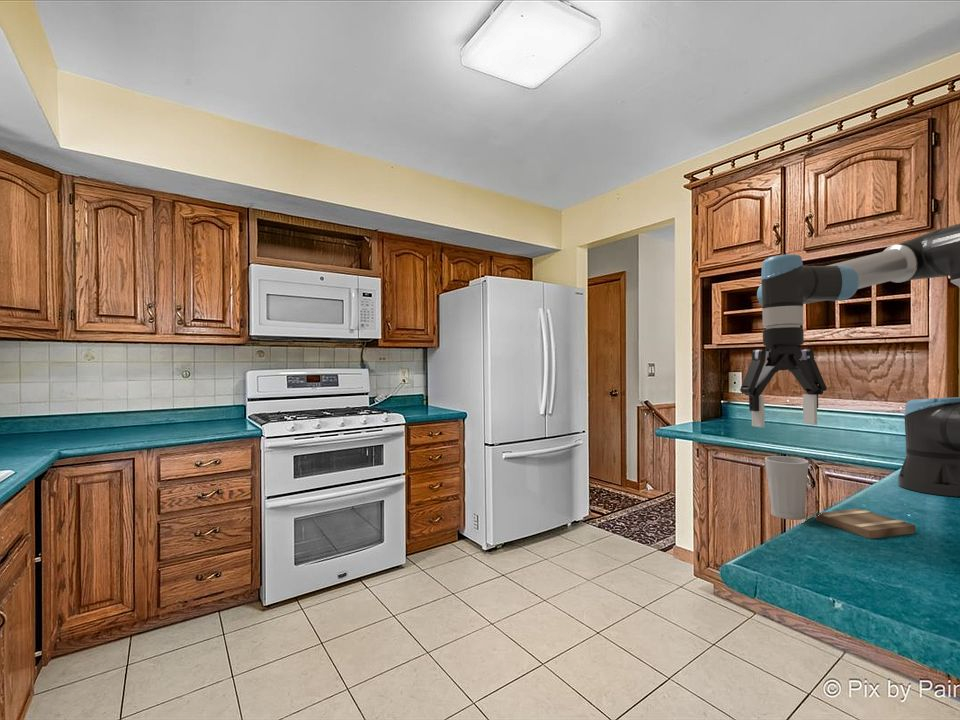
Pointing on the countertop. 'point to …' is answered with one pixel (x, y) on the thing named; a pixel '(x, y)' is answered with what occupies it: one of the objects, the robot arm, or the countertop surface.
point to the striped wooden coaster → (866, 523)
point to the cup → (787, 486)
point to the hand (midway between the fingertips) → (784, 425)
